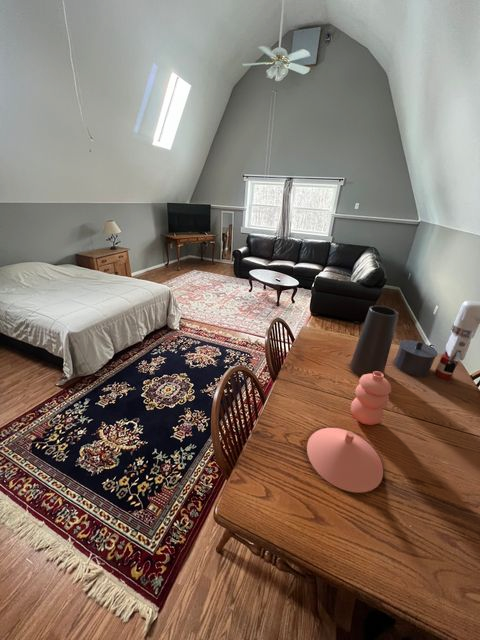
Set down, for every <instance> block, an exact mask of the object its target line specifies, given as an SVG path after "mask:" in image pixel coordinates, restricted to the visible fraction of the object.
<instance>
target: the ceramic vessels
mask: <svg viewBox="0 0 480 640" xmlns="http://www.w3.org/2000/svg"><path fill="white" fill-rule="evenodd" d="M358 382H359V383H358V384H357V386H356V387H355V396H356V397H355V398H354V399H353V400H352V402H351V404H350V412H351V414H352V416H353V417H354V419H355V420H356V421H358V422H360V423H361V424H364V425H368V426H373V425H377V424H379V423H380V422H381V421H382V420H383V417H384V407H386V406H387V404H388V403H389V401H390V396H389V394H390V393H391V392H392V385H391V383H390V381H389V380H387V379H386V378H385V375H384V374H383V373H381V372H378V371H374V372H373V374H365V375H363V376H362V377H360V378H359V380H358ZM306 453H307V457H308V459H309V463H310V464H311V466H312V468H313V469H314V470H315V471H316V472H317V473H318V475H319V476H320V477H321V478H322V479H324V481H326V482H327V483H329V484H331V485H332V486H334V487H336V488H338V489H340V490H343V491H346V492H351V493H356V494H358V493H367V492H370V491H373V490H375V489H376V488H377V487H378V486H379V485H380V484H381V483H382V480H383V477H384V467H383V462H382V460H381V458H380V456H379V454H378V452H377V451H376V450H375V448H373V446H372V445H371V444H369V442H367V441H366V440H365V439H363V438H362V437H361V436H359V435H357V434H356V433H354V432H353V431H351V430H347V429H343V428H339V427H325V428H320V429H318V430H316V431H315V432H313V433H312V434H311V435H310V437H309V438H308V440H307V444H306Z"/></svg>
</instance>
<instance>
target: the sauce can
mask: <svg viewBox="0 0 480 640" xmlns="http://www.w3.org/2000/svg"><path fill="white" fill-rule="evenodd" d="M452 357H454V358H455V356H452ZM449 358H450V357H449V356H448V354H445V353H442V354H441V356H440V359H439V361H438V363H437V365H436V368H435V370H434V374H435V375H436V376H437V377H439V378H441V379H445V380H451V379H452V378H453V376H454V375H455V372H456V370H457V367H458V365H459V363H458V364H457V366H456V367H455V370H454V372H453V373H449V372H445V371H444V368H445V366H446V364H447V363H448V361H449ZM452 360H453V361H454V359H452ZM452 360H451V361H452ZM460 361H461V360H459V362H460Z"/></svg>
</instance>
